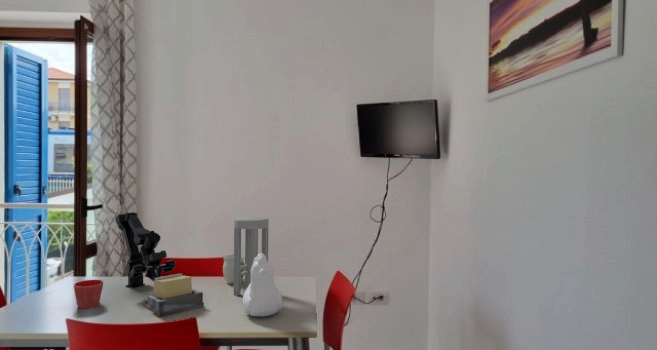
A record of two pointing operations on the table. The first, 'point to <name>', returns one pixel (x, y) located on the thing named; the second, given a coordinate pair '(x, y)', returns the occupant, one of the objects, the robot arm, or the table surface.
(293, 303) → the table surface
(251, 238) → the stool
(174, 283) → the yellow box
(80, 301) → the flower pot
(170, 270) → the robot arm
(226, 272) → the pitcher
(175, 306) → the dock
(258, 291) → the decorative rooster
